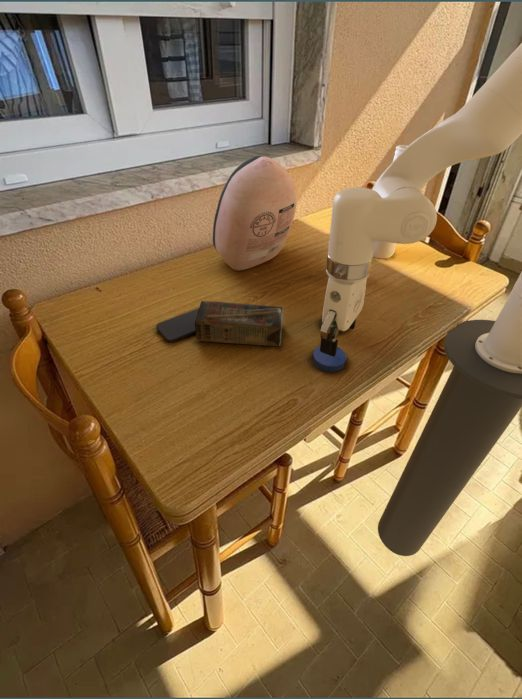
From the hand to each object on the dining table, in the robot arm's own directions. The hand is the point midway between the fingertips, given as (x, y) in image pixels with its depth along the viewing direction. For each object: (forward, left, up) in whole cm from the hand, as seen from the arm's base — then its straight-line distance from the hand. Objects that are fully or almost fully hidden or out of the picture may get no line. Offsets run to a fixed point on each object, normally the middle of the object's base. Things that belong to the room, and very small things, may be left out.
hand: (337, 339), depth 77 cm
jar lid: (+1, +1, -5) cm, 5 cm away
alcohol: (+8, -53, -6) cm, 54 cm away
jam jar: (+5, -12, -6) cm, 14 cm away
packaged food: (+37, -27, -6) cm, 46 cm away
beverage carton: (+22, +4, -6) cm, 23 cm away
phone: (+34, +7, -6) cm, 35 cm away
